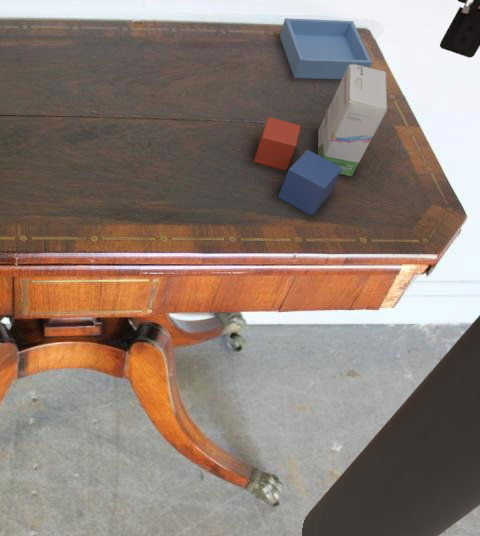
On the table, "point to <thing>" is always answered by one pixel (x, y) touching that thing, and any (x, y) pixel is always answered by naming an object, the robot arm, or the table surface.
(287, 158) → the red block
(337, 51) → the blue bin
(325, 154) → the ink box
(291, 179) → the blue block
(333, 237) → the table surface
